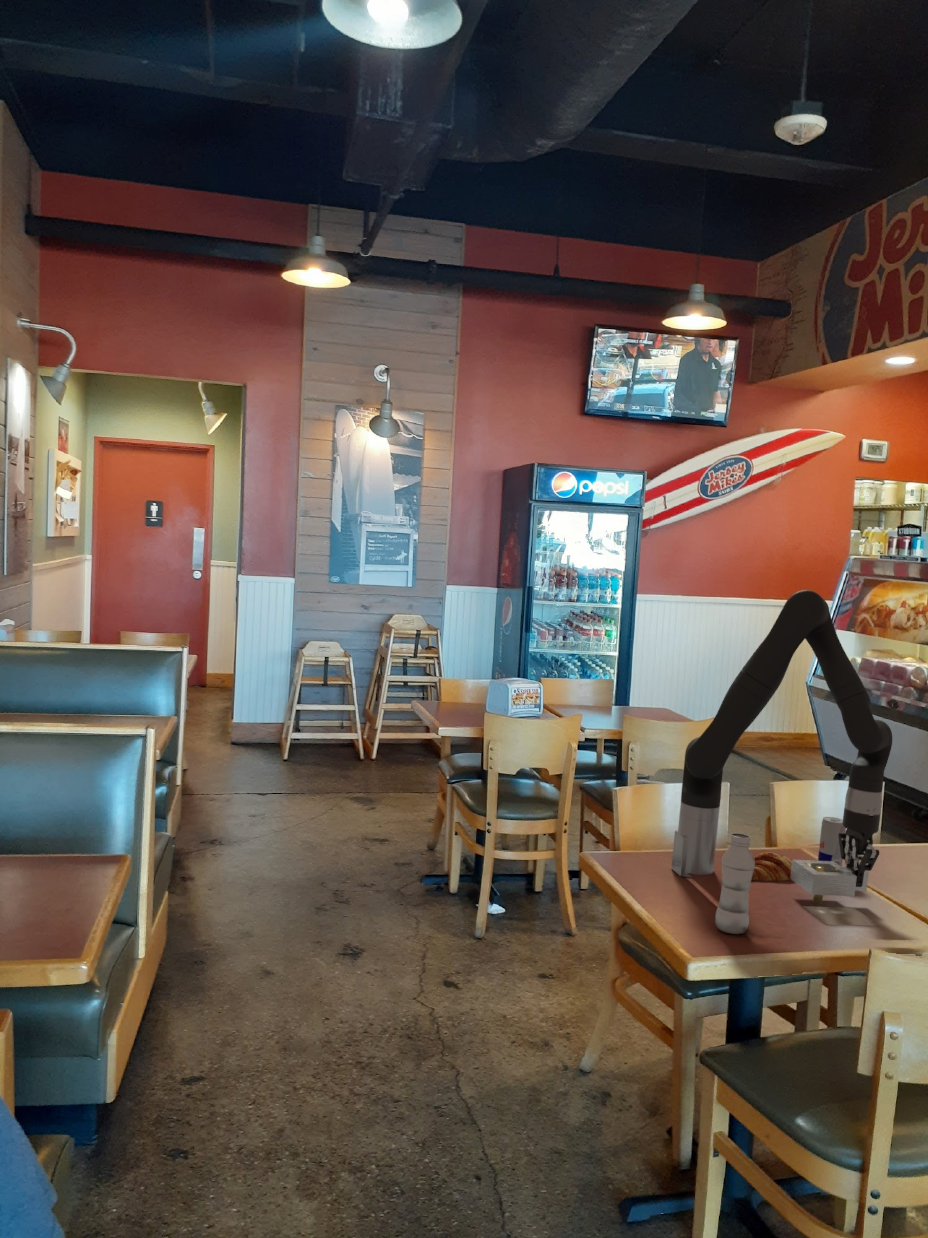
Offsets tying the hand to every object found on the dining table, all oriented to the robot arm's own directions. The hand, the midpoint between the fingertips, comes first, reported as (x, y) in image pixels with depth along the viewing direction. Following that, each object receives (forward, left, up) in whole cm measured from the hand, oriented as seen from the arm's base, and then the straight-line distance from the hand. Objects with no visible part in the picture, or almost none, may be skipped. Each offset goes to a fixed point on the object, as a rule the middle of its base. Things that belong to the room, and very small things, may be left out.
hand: (853, 883), depth 209 cm
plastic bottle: (-35, -15, -6) cm, 39 cm away
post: (-8, 0, -5) cm, 9 cm away
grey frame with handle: (-5, 0, -1) cm, 5 cm away
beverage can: (+6, +21, -6) cm, 22 cm away
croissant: (-9, +19, -6) cm, 22 cm away
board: (-7, -4, -6) cm, 10 cm away
